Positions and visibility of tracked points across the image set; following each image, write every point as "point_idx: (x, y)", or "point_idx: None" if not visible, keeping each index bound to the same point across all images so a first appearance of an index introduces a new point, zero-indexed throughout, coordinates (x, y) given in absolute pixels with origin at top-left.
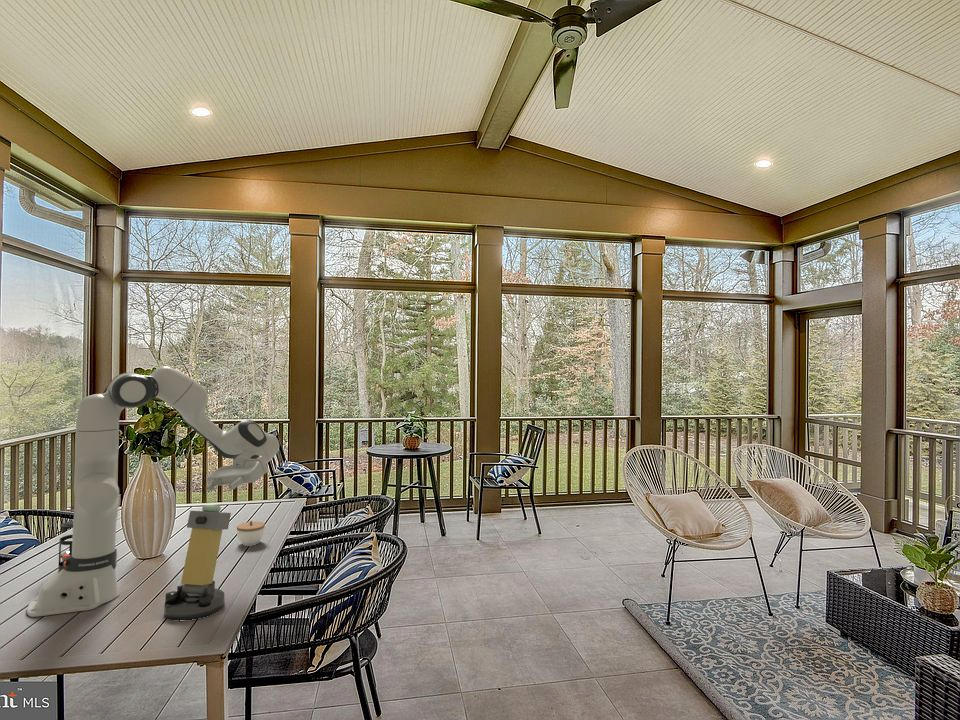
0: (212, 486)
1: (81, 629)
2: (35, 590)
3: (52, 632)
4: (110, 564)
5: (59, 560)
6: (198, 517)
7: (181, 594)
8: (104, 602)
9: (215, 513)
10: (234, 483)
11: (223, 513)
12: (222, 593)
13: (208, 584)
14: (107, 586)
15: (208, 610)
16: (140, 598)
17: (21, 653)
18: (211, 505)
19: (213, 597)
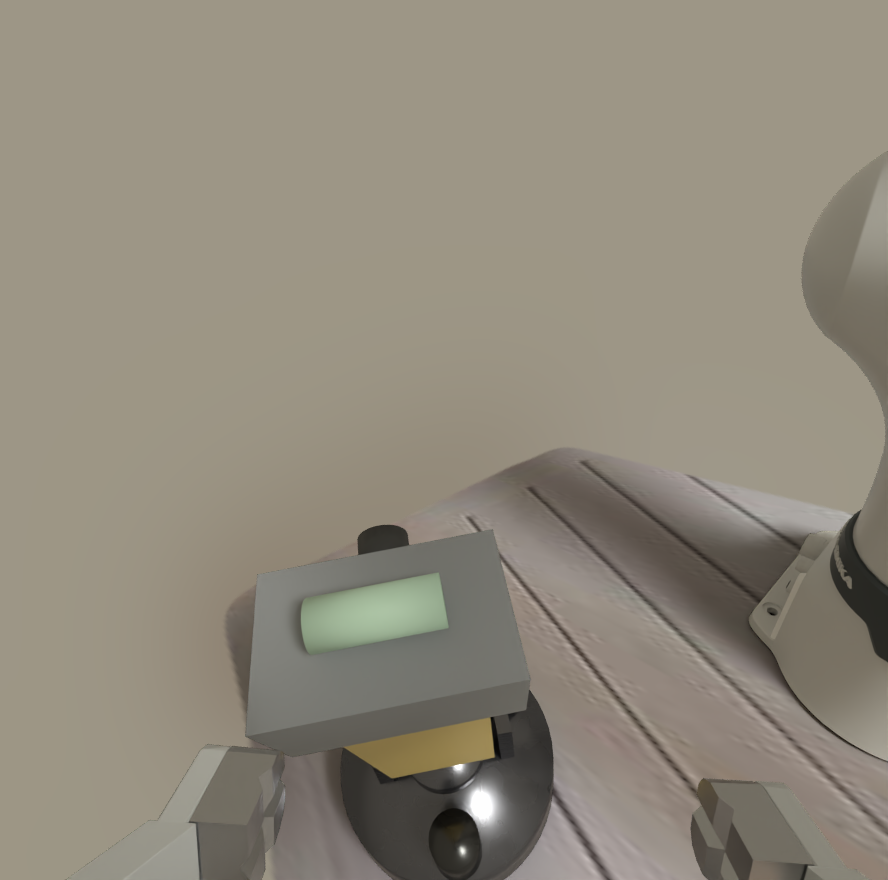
0: (730, 859)
1: (623, 550)
2: None
3: (665, 521)
4: (853, 609)
5: None
6: (386, 528)
7: (493, 718)
8: (777, 661)
9: (290, 570)
10: (169, 810)
11: (254, 624)
12: (374, 844)
13: (440, 815)
14: (812, 648)
15: None
16: (729, 752)
17: (608, 468)
18: (370, 593)
19: (380, 783)
